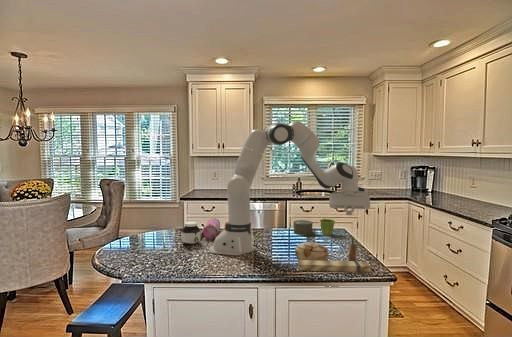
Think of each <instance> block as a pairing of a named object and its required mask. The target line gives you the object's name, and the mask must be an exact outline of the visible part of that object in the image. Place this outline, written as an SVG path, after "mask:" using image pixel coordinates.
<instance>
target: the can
mask: <svg viewBox="0 0 512 337" xmlns="http://www.w3.org/2000/svg"><path fill="white" fill-rule="evenodd" d="M313 224H314V222H313V221H311V220H303V219H302V220H301V219H299V220H295V221H293V234H295V235H299V236H309V235H312V234H313Z"/></svg>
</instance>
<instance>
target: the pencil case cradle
mask: <svg viewBox="0 0 512 337" xmlns="http://www.w3.org/2000/svg"><path fill="white" fill-rule="evenodd" d="M224 230H225V226H224V227H223V229H222V230H221V231H220V232H219V234H221V233H222V232H223V231H224ZM203 237H204V234H203V229H202V230H200V240H201V239H202V238H203Z"/></svg>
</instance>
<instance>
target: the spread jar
mask: <svg viewBox="0 0 512 337" xmlns="http://www.w3.org/2000/svg"><path fill="white" fill-rule="evenodd" d="M200 232H201V229H200V227H199V226H198V222H197V221H186V222H184V226H183V227H182V229H181V232H180V233H181V234H180V240H181V242H182V243H183V245H185V246H195V245H197V244H198V243H199V242H200V241H201V239H200Z"/></svg>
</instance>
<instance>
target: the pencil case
mask: <svg viewBox="0 0 512 337" xmlns="http://www.w3.org/2000/svg"><path fill="white" fill-rule="evenodd" d="M220 229H221V222H220V220H219V219H218V218H213V217H212V218H210V219H209V220H207V222H206V224H205V226H204V227H203V229H202V230H203V234H204V236H203V237H204V239H205V240H213V239H215V238H216V237H217V236H218V235H219V234H220Z"/></svg>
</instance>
